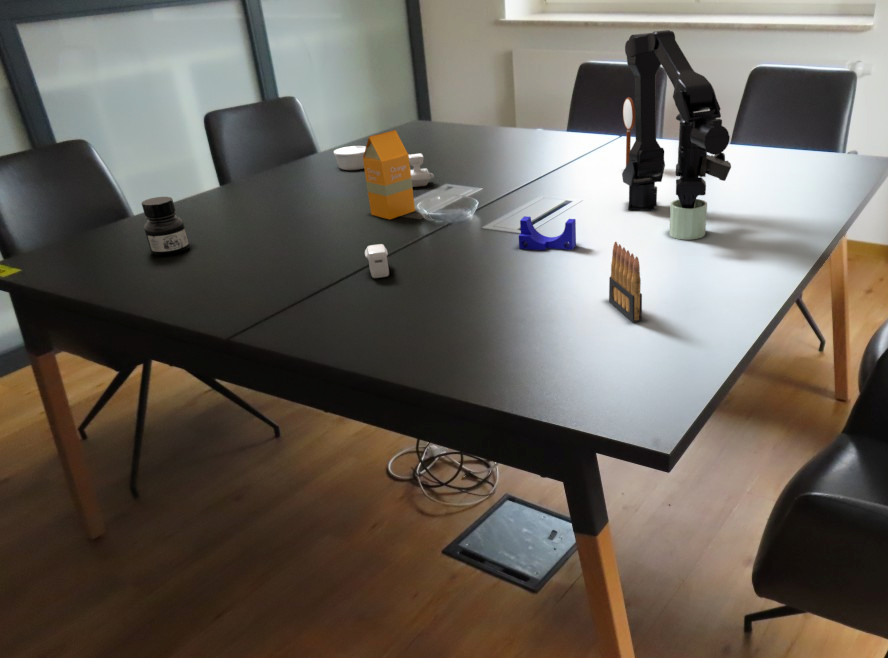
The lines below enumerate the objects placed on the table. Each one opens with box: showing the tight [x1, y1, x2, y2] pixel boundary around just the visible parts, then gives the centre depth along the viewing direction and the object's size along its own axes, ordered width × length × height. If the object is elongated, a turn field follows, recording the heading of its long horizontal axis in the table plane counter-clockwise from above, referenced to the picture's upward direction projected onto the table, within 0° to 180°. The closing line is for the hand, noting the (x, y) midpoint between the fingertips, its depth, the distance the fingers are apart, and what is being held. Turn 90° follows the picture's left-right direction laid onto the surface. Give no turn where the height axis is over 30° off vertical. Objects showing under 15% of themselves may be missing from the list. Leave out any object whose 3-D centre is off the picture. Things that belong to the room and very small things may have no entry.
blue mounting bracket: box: [518, 216, 577, 251], centre depth 183 cm, size 12×4×6 cm, turn 71°
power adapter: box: [364, 243, 390, 279], centre depth 176 cm, size 11×5×6 cm, turn 13°
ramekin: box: [333, 145, 366, 171], centre depth 257 cm, size 11×11×5 cm
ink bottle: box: [141, 196, 190, 257], centre depth 194 cm, size 10×9×12 cm
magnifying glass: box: [622, 96, 635, 167], centre depth 231 cm, size 9×2×20 cm, turn 12°
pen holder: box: [668, 198, 708, 241], centre depth 185 cm, size 8×8×7 cm
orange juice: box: [363, 129, 416, 220], centre depth 208 cm, size 8×9×20 cm
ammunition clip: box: [608, 240, 643, 323], centre depth 149 cm, size 11×2×12 cm, turn 18°
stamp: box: [408, 153, 435, 188], centre depth 233 cm, size 9×7×8 cm
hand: (688, 215), depth 185 cm, fingers closed on glue stick, 3 cm apart
